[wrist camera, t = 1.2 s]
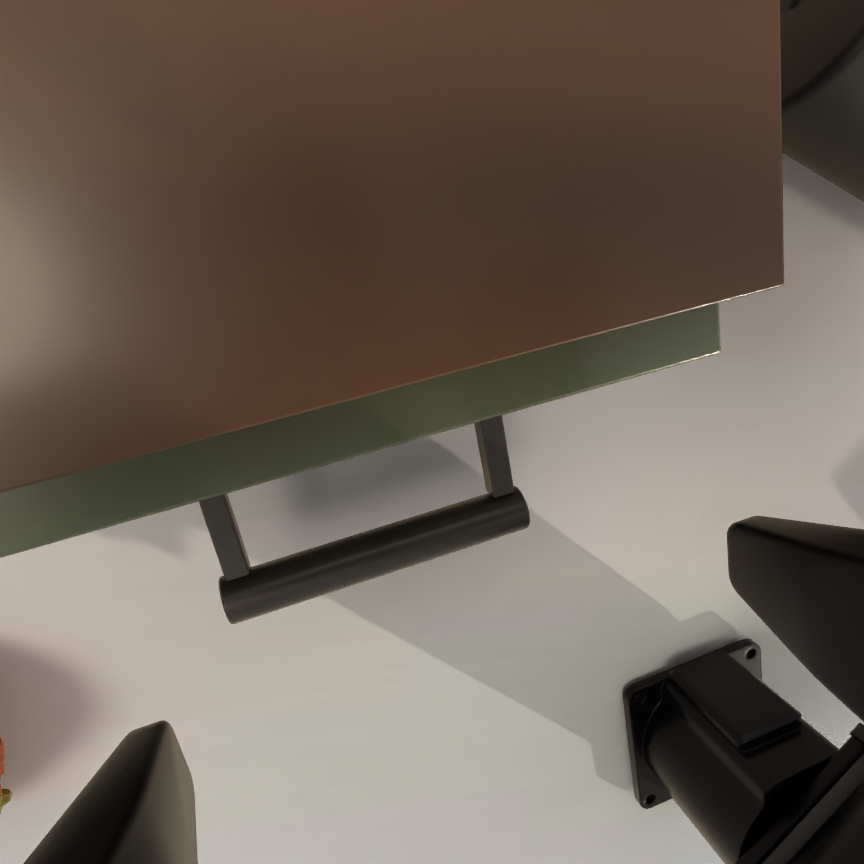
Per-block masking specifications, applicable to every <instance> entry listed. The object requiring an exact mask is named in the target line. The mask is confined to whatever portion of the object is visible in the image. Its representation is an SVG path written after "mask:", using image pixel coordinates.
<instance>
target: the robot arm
mask: <svg viewBox="0 0 864 864" xmlns="http://www.w3.org/2000/svg"><path fill="white" fill-rule="evenodd" d="M727 546H728V568H729V577H730V581H731V583H732V585H733V587H734V589H735V590H736V592H737V593H738V594H739V595H740V596H741V598H742V599H743V600H744V601H745V602H746V603H747V604H748V605H749V606H750V607H751V608H752V610H753V611H754V612H755V613H756V614H757V615H758V616H759V617H760V618H761V619H762V620H763V622H764V623H765V624H766V625H767V626H768V627H769V628H770V629H771V630H772V631H773V632H774V634H775V635H776V636H777V637H778V638H779V639H780V640H781V641H782V642H783V643H784V644H785V646H786V647H787V648H788V649H789V650H790V651H791V652H792V653H793V654H794V655H795V656H796V658H797V659H798V660H799V661H800V662H801V663H802V664H803V665H804V666H805V667H806V668H807V669H808V670H809V671H810V672H811V673H812V674H813V675H814V676H815V677H816V678H817V679H818V680H819V681H820V682H821V683H822V684H823V685H824V686H825V687H826V688H827V689H828V690H829V691H831V692H832V693H833V694H834V695H835V696H836V697H837V698H838V699H839V700H840V701H842V702H843V703H844V704H845V705H846V706H847V707H848V708H849V709H850V710H851V711H853V712H854V713H855V714H856V715H857V716H858V717H859V718H860V719H861V720H862V721H863V722H864V530H863V529H856V528H848V527H840V526H833V525H825V524H817V523H810V522H802V521H794V520H787V519H779V518H771V517H764V516H753V517H750V518H747V519H744V520H741V521H738V522H736V523H733V524H732V525H731V526H730V527H729V529H728V532H727ZM637 695H638V696H637ZM636 696H637V697H636ZM635 697H636V698H635ZM623 699H624V708H625V716H626V725H627V733H628V741H629V750H630V758H631V766H632V775H633V783H634V791H635V797H636V800H637V801H638V802H639V804H640V805H641V807H643V808H646V809H648V808H652V807H654V806H656V805H658V804H660V803H663V802H665V801H667V800H669V799H672V798H673V799H674V801H675V802H676V803H677V804H678V806H679V807H680V808H681V809H682V811H683V812H684V813H685V814H686V816H687V817H688V818H689V819H690V821H691V822H692V823H693V824H694V826H695V827H696V828H697V829H698V831H699V832H700V833H701V834H702V836H703V837H704V838H705V839H706V841H707V842H708V843H709V844H710V846H711V847H712V848H713V849H714V851H715V852H716V853H717V854H718V856H719V857H720V858H721V859H722V861H723V862H724V863H725V864H864V725H863V724H861V723H859V724H858V725H857V726H856V727H855V728H854V729H853V730H852V731H851V733H850V734H851V737H850V738H849V739H848V740H847V742H846V743H845V744H844V745H843V746H842V747H841V748H840V749H838V748H837V747H836V746H835V745H833V744H832V743H831V742H830V741H829V740H827V739H826V738H825V737H824V736H823V735H821V734H820V733H819V732H818V731H817V730H815V729H814V728H813V727H812V726H810V725H809V724H808V723H807V722H806V721H804V720H803V719H802V718H801V714H800V712H799V711H798V710H796V709H795V708H794V707H793V706H791V705H790V704H789V703H788V702H787V701H785V700H784V699H783V698H782V697H780V696H779V695H778V694H777V693H776V692H774V691H773V690H772V689H771V688H769V687H768V686H767V685H766V684H765V683H763V682H762V675H761V649H760V646H759V645H758V644H756V643H755V642H754V641H752V640H751V639H743V640H741V641H738V642H736V643H733V644H731V645H728V646H726V647H723V648H721V649H718V650H716V651H713V652H711V653H708V654H706V655H703V656H701V657H698V658H696V659H693V660H691V661H688V662H686V663H683V664H681V665H678V666H676V667H673V668H671V669H668V670H666V671H663V672H661V673H658V674H656V675H653V676H651V677H648V678H646V679H643V680H641V681H638V682H636V683H633V684H631V685H630V686H628V687H627V689H626V690H625V692H624V695H623ZM24 864H198V860H197V838H196V817H195V796H194V787H193V781H192V777H191V773H190V771H189V768H188V766H187V763H186V761H185V758H184V756H183V753H182V751H181V748H180V746H179V743H178V740H177V738H176V735H175V733H174V731H173V728H172V727H171V725H170V724H169V723H168V722H166V721H159V722H156V723H153V724H150V725H147V726H144V727H141V728H138V729H135V730H133V731H131V732H130V733H129V734H128V735H127V736H126V737H125V738H124V739H123V740H122V742H121V743H120V744H119V745H118V747H117V748H116V749H115V750H114V752H113V753H112V754H111V755H110V757H109V758H108V759H107V760H106V762H105V763H104V764H103V765H102V767H101V768H100V769H99V770H98V772H97V773H96V774H95V775H94V777H93V778H92V779H91V780H90V781H89V783H88V784H87V785H86V786H85V788H84V789H83V790H82V791H81V793H80V794H79V795H78V796H77V798H76V799H75V800H74V801H73V803H72V804H71V805H70V806H69V808H68V809H67V810H66V811H65V813H64V814H63V815H62V816H61V818H60V819H59V820H58V821H57V823H56V824H55V825H54V826H53V828H52V829H51V830H50V831H49V833H48V834H47V835H46V836H45V838H44V839H43V840H42V841H41V843H40V844H39V845H38V846H37V848H36V849H35V850H34V851H33V852H32V854H31V855H30V856H29V857H28V859H27V860H26V861H25V862H24Z"/></svg>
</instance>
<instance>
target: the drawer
mask: <svg viewBox="0 0 864 864" xmlns="http://www.w3.org/2000/svg"><path fill="white" fill-rule="evenodd" d="M720 350H721V345H720V325H719V304H718V303H716V304H712V305H709V306H705V307H701V308H697V309H693V310H690V311H686V312H682V313H678V314H675V315H671V316H667V317H663V318H659V319H656V320H652V321H648V322H644V323H641V324H637V325H633V326H629V327H625V328H622V329H618V330H614V331H610V332H607V333H603V334H599V335H595V336H591V337H588V338H584V339H580V340H576V341H573V342H569V343H565V344H561V345H557V346H554V347H550V348H546V349H542V350H539V351H535V352H531V353H527V354H523V355H520V356H516V357H512V358H508V359H505V360H501V361H497V362H493V363H490V364H486V365H482V366H478V367H474V368H471V369H467V370H463V371H459V372H456V373H452V374H448V375H444V376H440V377H437V378H433V379H429V380H425V381H422V382H418V383H414V384H410V385H406V386H403V387H399V388H395V389H391V390H388V391H384V392H380V393H376V394H372V395H369V396H365V397H361V398H357V399H354V400H350V401H346V402H342V403H338V404H335V405H331V406H327V407H323V408H320V409H316V410H312V411H308V412H304V413H301V414H297V415H293V416H289V417H286V418H282V419H278V420H274V421H271V422H267V423H263V424H259V425H255V426H252V427H248V428H244V429H240V430H237V431H233V432H229V433H225V434H221V435H218V436H214V437H210V438H206V439H203V440H199V441H195V442H191V443H187V444H184V445H180V446H176V447H172V448H169V449H165V450H161V451H157V452H153V453H150V454H146V455H142V456H138V457H135V458H131V459H127V460H123V461H119V462H116V463H112V464H108V465H104V466H101V467H97V468H93V469H89V470H85V471H82V472H78V473H74V474H70V475H67V476H63V477H59V478H55V479H51V480H48V481H44V482H40V483H36V484H33V485H29V486H25V487H21V488H18V489H14V490H10V491H6V492H2V493H0V558H1V557H5V556H8V555H12V554H15V553H19V552H22V551H26V550H29V549H33V548H36V547H40V546H43V545H47V544H50V543H54V542H57V541H61V540H64V539H68V538H71V537H75V536H78V535H82V534H85V533H89V532H92V531H96V530H100V529H103V528H107V527H110V526H114V525H117V524H121V523H124V522H128V521H131V520H135V519H138V518H142V517H145V516H149V515H152V514H156V513H159V512H163V511H166V510H170V509H173V508H177V507H180V506H184V505H187V504H191V503H194V502H198V501H199V504H200V507H201V510H202V513H203V516H204V518H205V521H206V524H207V527H208V530H209V533H210V536H211V539H212V542H213V545H214V548H215V551H216V553H217V556H218V559H219V562H220V565H221V568H222V571H223V574H224V576H221V577H220V578H219V591H220V596H221V600H222V604H223V608H224V611H225V614H226V616H227V618H228V620H229V622H230V623H231V624H236V623H239V622H242V621H245V620H248V619H251V618H254V617H257V616H260V615H263V614H266V613H269V612H272V611H275V610H278V609H281V608H284V607H287V606H291V605H294V604H297V603H300V602H303V601H306V600H309V599H312V598H315V597H318V596H321V595H324V594H327V593H330V592H333V591H336V590H339V589H342V588H345V587H348V586H351V585H355V584H358V583H361V582H364V581H367V580H370V579H373V578H376V577H379V576H382V575H385V574H388V573H391V572H394V571H397V570H400V569H403V568H406V567H409V566H412V565H415V564H419V563H422V562H425V561H428V560H431V559H434V558H437V557H440V556H443V555H446V554H449V553H452V552H455V551H458V550H461V549H464V548H467V547H470V546H473V545H476V544H479V543H483V542H486V541H489V540H492V539H495V538H498V537H501V536H504V535H507V534H510V533H513V532H516V531H519V530H522V529H525V528H527V527H528V526H529V523H530V517H529V511H528V507H527V504H526V501H525V499H524V497H523V495H522V493H521V492H520V490H519V489H518V488H517V487H516V486H513V480H512V474H511V468H510V462H509V456H508V450H507V444H506V438H505V432H504V426H503V420H502V415H504V414H507V413H511V412H514V411H518V410H521V409H525V408H528V407H532V406H535V405H539V404H542V403H546V402H549V401H553V400H556V399H560V398H563V397H567V396H570V395H574V394H577V393H581V392H585V391H588V390H592V389H595V388H599V387H602V386H606V385H609V384H613V383H616V382H620V381H623V380H627V379H630V378H634V377H637V376H641V375H644V374H648V373H651V372H655V371H658V370H662V369H665V368H669V367H672V366H676V365H679V364H683V363H686V362H690V361H693V360H697V359H700V358H704V357H708V356H711V355H715V354H717V353H719V352H720ZM472 423H474V424H475V429H476V435H477V440H478V446H479V451H480V457H481V462H482V468H483V474H484V479H485V485H486V490H487V491H488V492H489V493H488V494H485V495H482V496H478V497H475V498H472V499H469V500H465V501H462V502H459V503H456V504H453V505H449V506H446V507H443V508H440V509H437V510H433V511H430V512H427V513H424V514H420V515H417V516H414V517H411V518H408V519H404V520H401V521H398V522H395V523H392V524H388V525H385V526H382V527H379V528H375V529H372V530H369V531H366V532H363V533H359V534H356V535H353V536H350V537H347V538H343V539H340V540H337V541H334V542H330V543H327V544H324V545H321V546H318V547H314V548H311V549H308V550H305V551H302V552H298V553H295V554H292V555H289V556H286V557H282V558H279V559H276V560H273V561H269V562H266V563H263V564H260V565H257V566H253V567H250V562H249V559H248V556H247V553H246V550H245V547H244V544H243V541H242V538H241V534H240V531H239V528H238V525H237V522H236V519H235V516H234V513H233V510H232V507H231V504H230V501H229V498H228V495H227V493H230V492H233V491H237V490H240V489H244V488H247V487H251V486H254V485H258V484H261V483H265V482H268V481H272V480H275V479H279V478H282V477H286V476H289V475H293V474H296V473H300V472H303V471H307V470H310V469H314V468H317V467H321V466H324V465H328V464H331V463H335V462H339V461H342V460H346V459H349V458H353V457H356V456H360V455H363V454H367V453H370V452H374V451H377V450H381V449H384V448H388V447H391V446H395V445H398V444H402V443H405V442H409V441H412V440H416V439H419V438H423V437H426V436H430V435H433V434H437V433H440V432H444V431H447V430H451V429H454V428H458V427H462V426H465V425H469V424H472Z"/></svg>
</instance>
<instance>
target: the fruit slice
mask: <svg viewBox="0 0 864 864" xmlns="http://www.w3.org/2000/svg"><path fill="white" fill-rule="evenodd" d="M3 773H4V747H3V742H2V739H1V737H0V778H1V776H2V774H3ZM11 796H12V792H11V791H10V790H9V789H1V785H0V813H1V810H2V806H4V805H5V804H6V803H8V802H9V801H10V799H11Z"/></svg>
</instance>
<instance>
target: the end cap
mask: <svg viewBox="0 0 864 864" xmlns="http://www.w3.org/2000/svg"><path fill="white" fill-rule="evenodd" d="M780 60H781V124H782V152H783V153H785V154H786V155H788V156H790V157H791V158H793V159H795V160H796V161H798V162H799V163H801V164H803V165H804V166H806V167H808V168H809V169H811V170H813V171H814V172H816V173H818V174H819V175H821V176H823V177H824V178H826V179H828V180H829V181H831V182H833V183H834V184H836V185H837V186H839V187H841V188H842V189H844V190H846V191H847V192H849V193H851V194H852V195H854V196H856V197H857V198H859V199H861V200H862V201H864V0H780Z"/></svg>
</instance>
